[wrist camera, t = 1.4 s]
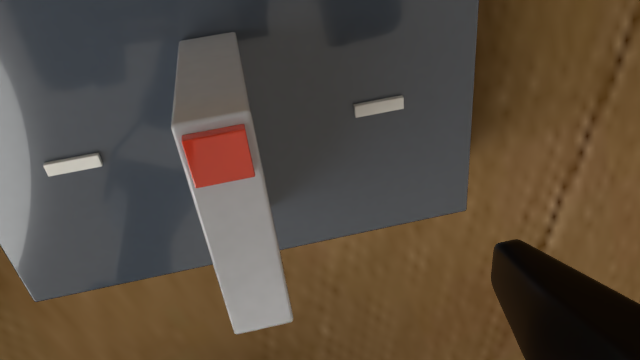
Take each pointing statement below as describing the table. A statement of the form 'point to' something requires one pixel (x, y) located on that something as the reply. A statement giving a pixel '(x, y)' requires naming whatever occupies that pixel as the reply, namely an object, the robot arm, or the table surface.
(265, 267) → the tap knob
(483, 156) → the table surface
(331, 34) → the tap panel
